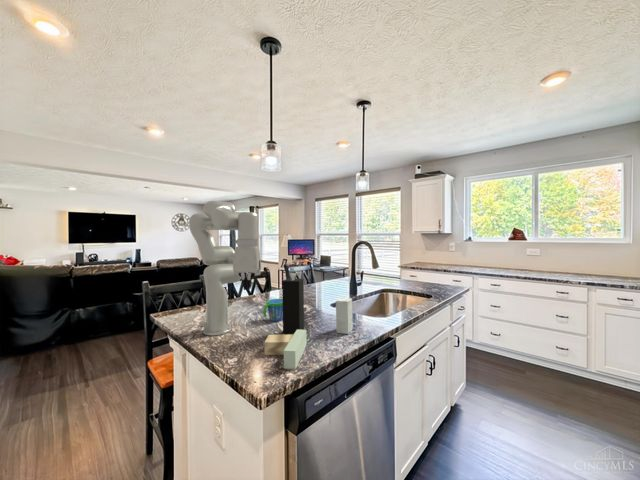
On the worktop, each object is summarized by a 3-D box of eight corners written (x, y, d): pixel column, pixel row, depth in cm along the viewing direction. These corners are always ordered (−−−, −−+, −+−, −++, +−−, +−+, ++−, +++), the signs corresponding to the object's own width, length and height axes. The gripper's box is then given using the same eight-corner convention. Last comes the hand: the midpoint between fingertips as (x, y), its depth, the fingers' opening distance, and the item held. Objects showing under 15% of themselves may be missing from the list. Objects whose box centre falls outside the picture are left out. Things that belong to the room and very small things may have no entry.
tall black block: (299, 337, 118) (298, 273, 118) (282, 336, 119) (281, 273, 119) (304, 331, 125) (303, 271, 125) (288, 330, 127) (287, 271, 127)
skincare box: (348, 334, 120) (348, 301, 120) (335, 333, 123) (335, 300, 122) (353, 328, 128) (352, 297, 128) (341, 327, 130) (340, 296, 130)
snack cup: (268, 325, 135) (268, 305, 135) (258, 320, 143) (258, 301, 143) (294, 319, 145) (293, 300, 145) (283, 314, 153) (283, 297, 153)
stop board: (283, 368, 90) (283, 350, 90) (297, 343, 110) (296, 329, 110) (295, 369, 89) (295, 351, 89) (306, 344, 110) (306, 329, 110)
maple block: (264, 355, 100) (264, 342, 100) (268, 346, 108) (268, 334, 108) (291, 355, 100) (291, 342, 100) (293, 346, 108) (293, 334, 108)
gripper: (225, 243, 103) (224, 290, 104) (262, 244, 101) (261, 292, 102) (234, 242, 111) (233, 286, 111) (268, 243, 109) (268, 288, 109)
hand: (247, 289), depth 107 cm, fingers closed
